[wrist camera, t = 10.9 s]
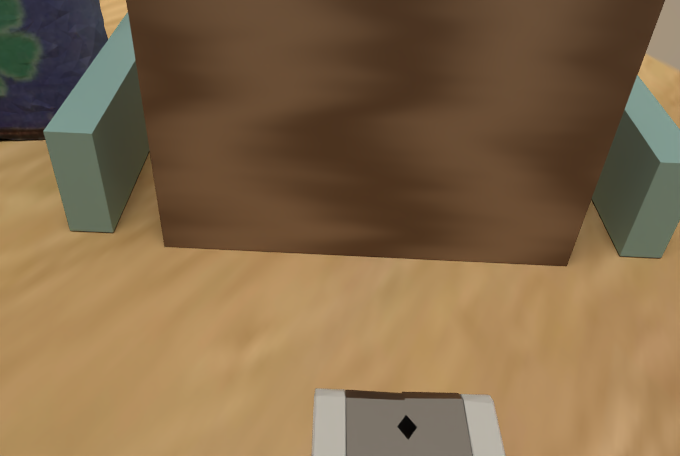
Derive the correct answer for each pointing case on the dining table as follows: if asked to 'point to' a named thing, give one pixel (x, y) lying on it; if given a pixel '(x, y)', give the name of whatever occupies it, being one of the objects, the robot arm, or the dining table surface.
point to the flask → (43, 59)
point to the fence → (132, 149)
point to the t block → (384, 122)
